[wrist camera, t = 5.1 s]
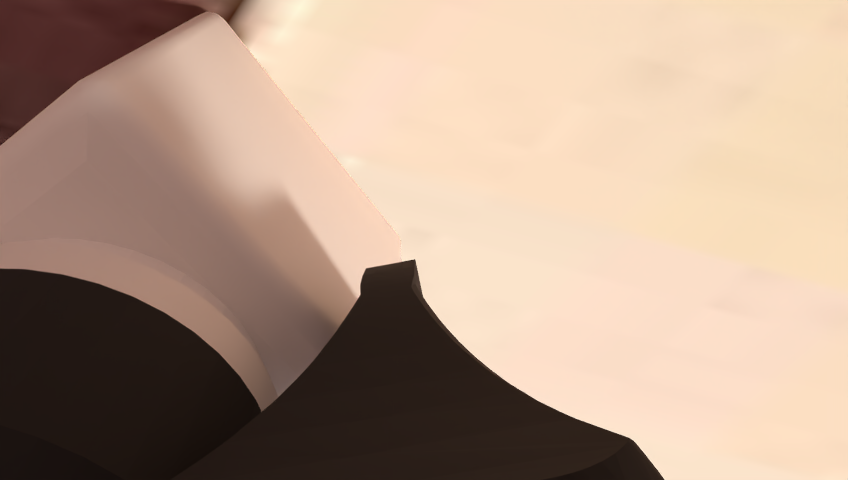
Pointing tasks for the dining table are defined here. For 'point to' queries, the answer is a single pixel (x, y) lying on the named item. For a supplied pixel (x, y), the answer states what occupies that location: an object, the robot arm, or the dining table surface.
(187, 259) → the medicine bottle
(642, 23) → the dining table surface
